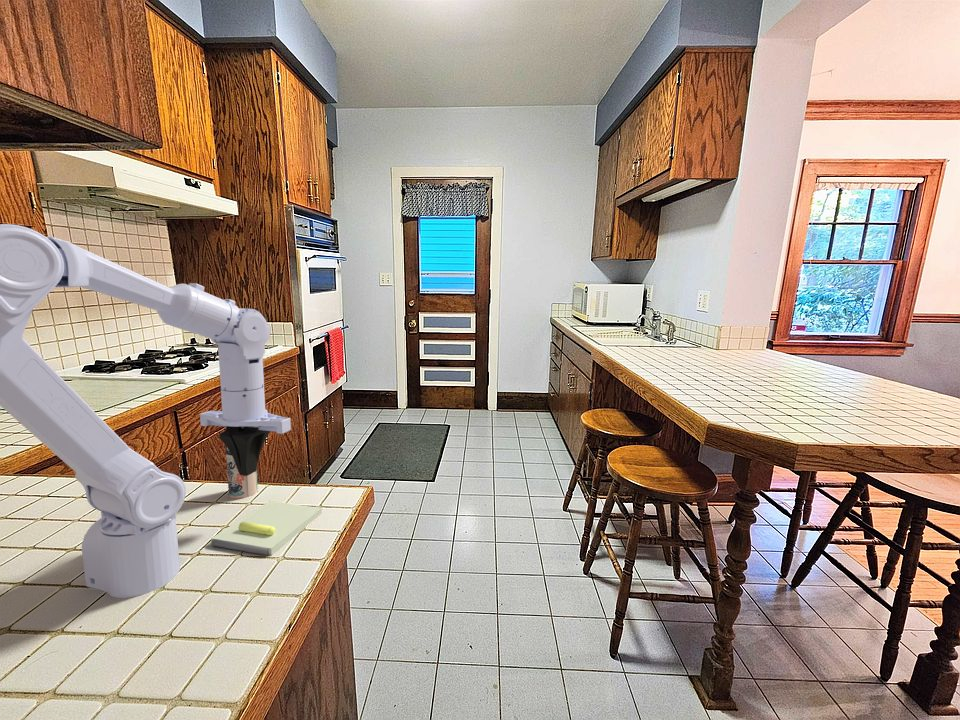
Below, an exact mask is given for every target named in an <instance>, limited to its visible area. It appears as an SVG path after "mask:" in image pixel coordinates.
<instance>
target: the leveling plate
mask: <svg viewBox="0 0 960 720" xmlns="http://www.w3.org/2000/svg"><path fill="white" fill-rule="evenodd" d="M322 513H323V509H322V507H316V506H309V505H302V504H296V503H295V504H294V503H289V502H280V501H274V500H273V501H272V500H269V501H267V502H265V503H264V504H262V505H261V506H259V507H257V508H256V509H255V510H253V511H252V512H250V513H248V514H247V515H245V516H244V517H242V518H241V519H239V520H238V521H237V520H236V522H234V523H232V524H231V525H229V526H228V527H226V528H224V530H222V531H220V532H219V533H217V534H215V535H214V536H212V537H211V538H210V545H211V546H212V547H218V548H224V549H229V550H230V549H231V550H234V551H241V552H247V553H253V554H259V555H263V556H264V555H265V556H273V555H274V554H276V552H277V551H279V550H280V549H281V548H282V547H284V546H285V545H286V544H288V542H289V541H291V540H292V539H293V538H295V537H296V535H298V534H299V533H300V532H302V531H303V530H304V529H305V528H306V527H308V526H309V525H310V524H311V523H312V522H314V521H315V520H316V519H318V517H319V516H321V515H322Z"/></svg>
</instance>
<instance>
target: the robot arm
mask: <svg viewBox="0 0 960 720" xmlns="http://www.w3.org/2000/svg"><path fill="white" fill-rule="evenodd" d="M77 287H79V288H83V289H85V290H89V291H93V292H96V293H99V294H103V295H106V296H108V297H112V298H115V299H119V300H121V301H125V302H128V303H132V304H135V305H139V306H140V307H141V306H142V307H144V308H147V309H152V310H155V311H156V312H157V314H158V316H159V318H160V320H161V321H162V322H163V323H164V324H165V325H167V326H170V327H173V328H177V329H180V330H182V331H185V332H189V333H191V334H192V333H193V334H195V335H199V336H201V337H205V338H208V339H209V340H211V341H212V342H213V343H214V344H215V345H217V351H218V353H217V354H218V363H219V379H220V395H221V397H220V399H221V410H208V411H205V412H201V413H199V419H200V420H199V421H200V426H201V427H208V426H217V427H225V429H224V430H225V431H222V432H220V433H219V434H218V436H219V439H220V441H222V442H223V444H224V446H225V448H226V447H227V448H228V449H229V451H230V453H231V455H232V457H233V459H234V461H235V464H236V466H237V469H238V472H239V474H240V475H243V476H248V475H250V474H252V473H254V472H256V469H257V468H258V462H259V459H260V455H261V451H262V448H263V447H264V444H265V442H266V440H267V438H268V436H269V434H270V433H271V432H276V434H278V435H279V434H280V435H282V434H285V433H288V432H290V431H291V430H292V427H291V425H292V424H291V417H285V416H281V415H276V414H273V413H270V412H268V409H266V398H265V396H266V395H265V377H264V355H265V354H266V351H265V349H266V343H267V342H268V340H269V337H270V336H271V331H272V329H271V326H269V325H268V322H267V319H266V318H265V317H264V316H263V314H262V313H261V312H260V311H258V310H257V309H254V308H242V307H241V308H239V306H237V305H236V301H235V300H233V299H230V298H225V299H223V298H220V297H217V296H215V295H213V294H210V293H208V292H206V291H205V286H203V285H201V284H198V283H193V282H191V283H188V284H186V283H178V284H175V285H173V286H170V287H169V286H167V285H164V284H162V283H160V282H158V281H156V280H153V279H152V278H149V277H146V276H144V275H142V274H139V273H137V272H135V271H134V270H131V269H128V267H124V266H123V265H121V264H118V263H116V262H113V261H112V260H109V259H107V258H105V257H102V256H100V255H97V254H95V253H93V252H91V251H89V250H87V249H85V248H82V247H80V246H78V245H76V244H74V243H73V242H71V241H67V240H64V239H60V238H58V237H53V236H45V235H43V234H42V233H40V232H38V230H34V229H32V228H29V227H27V226H23V225H18V224H13V223H12V224H10V223H1V224H0V407H1V408H3V410H4V411H6V413H8V414H9V415H10V416H11V417H13V418H14V419H15V421H17V422H18V423H19V424H20V425H22V426H23V427H24V429H26V430H27V431H28V432H30V433H31V434H32V435H33V436H34V437H35V438H36V439H38V440H39V441H40V442H41V443H42V444H43V446H46V448H48V449H49V450H50V451H51V452H52V453H54V455H55V456H57V457H58V458H59V459H60V460H62V461H63V462H64V463H65V465H67V466H68V467H69V468H70V469H72V470H73V472H75V476H74V477H75V478H74V479H75V480H76V481H77V482H78V483H79V484H80V485H82V486H83V488H84V490H85V496H86V501H87V502H88V504H89V505H90V506H91V508H93V509H95V510H96V511H100V513H101V514H100V517H101V518H99V519H98V520H96V521H95V522H94V523H93V524H92V525H90V527H89V528H88V529H87V530H86V533H85V534H84V537H83V539H82V542H81V554H82V564H83V571H84V573H83V574H84V580H85V581H84V582H85V586H86V587H87V588H91V589H96V590H101V591H103V592H105V593H107V594H108V595H110V596H111V597H112V598H116V599H117V598H118V599H126V598H127V599H128V598H135V597H138V596H139V597H140V596H142V595H145V594H150V593H152V592H153V591H156V590H159V589H160V588H162V587H164V586H166V585H167V584H169V583H170V582H171V581H173V580H174V579H175V578H176V577H177V576H178V575H179V573H180V571H181V564H180V563H181V562H180V555H179V554H180V551H179V539H178V529H177V514H178V512H179V511H180V510H181V508H182V506H183V504H184V501H185V499H186V494H187V490H186V489H187V488H186V485H185V482H184V481H183V479H182V478H181V477H179V476H178V475H176V474H175V473H171V472H166V471H162V470H161V469H160V468H159V467H157V466H156V464H155V463H154V462H152V461H150V460H149V459H147V458H146V457H144V456H143V455H141V454H140V453H139V452H137V451H135V450H133V448H131V447H130V446H129V445H127V443H126V442H124V440H123V439H122V438H121V437H119V435H118V434H117V433H116V432H115V431H114V430H113V428H111V427H110V426H109V425H108V424H107V423H106V422H105V421H104V419H102V417H100V416H99V414H98V413H96V411H94V410H93V409H92V407H91V406H89V404H88V403H87V402H86V401H85V400H83V398H82V397H81V396H80V395H79V394H78V393H77V392H76V391H75V390H74V389H73V388H72V387H71V386H70V385H69V384H68V383H67V382H66V381H65V380H64V379H63V377H61V376H60V375H59V373H58V372H57V371H56V370H54V369H53V367H51V365H49V362H47V361H46V360H45V359H44V358H43V357H42V356H41V355H40V354H39V353H38V352H37V351H36V350H35V349H34V348H33V347H32V346H31V345H30V344H29V343H28V341H26V339H24V333H25V329H26V328H27V325H28V322H29V320H30V318H31V314H32V312H33V310H34V309H35V308H36V307H37V305H38V304H40V302H42V301H43V299H45V298H46V296H48V295H49V293H50V292H51V291H53V290H54V289H55V288H77Z"/></svg>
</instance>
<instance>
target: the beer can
mask: <svg viewBox="0 0 960 720" xmlns="http://www.w3.org/2000/svg"><path fill="white" fill-rule="evenodd" d="M225 457H226V471H227V472H226V473H227V475H226V476H227V486H228V487H227V488H228V498H230V499H233V500H239V499H240V500H241V499H247V498H249V497H252V496H254V495H256V494H257V493H258V491H259V490H258V489H259V488H258V474H257V473H258V472H257V469H256V472H254V473H252V474H250V475H248V476H243V475H240V474H239V472H238V469H237V466H236V464H235V461H234V459H233V457H232V455H231V453H230V451H229V449H228V448H227V447H226V446H225Z"/></svg>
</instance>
